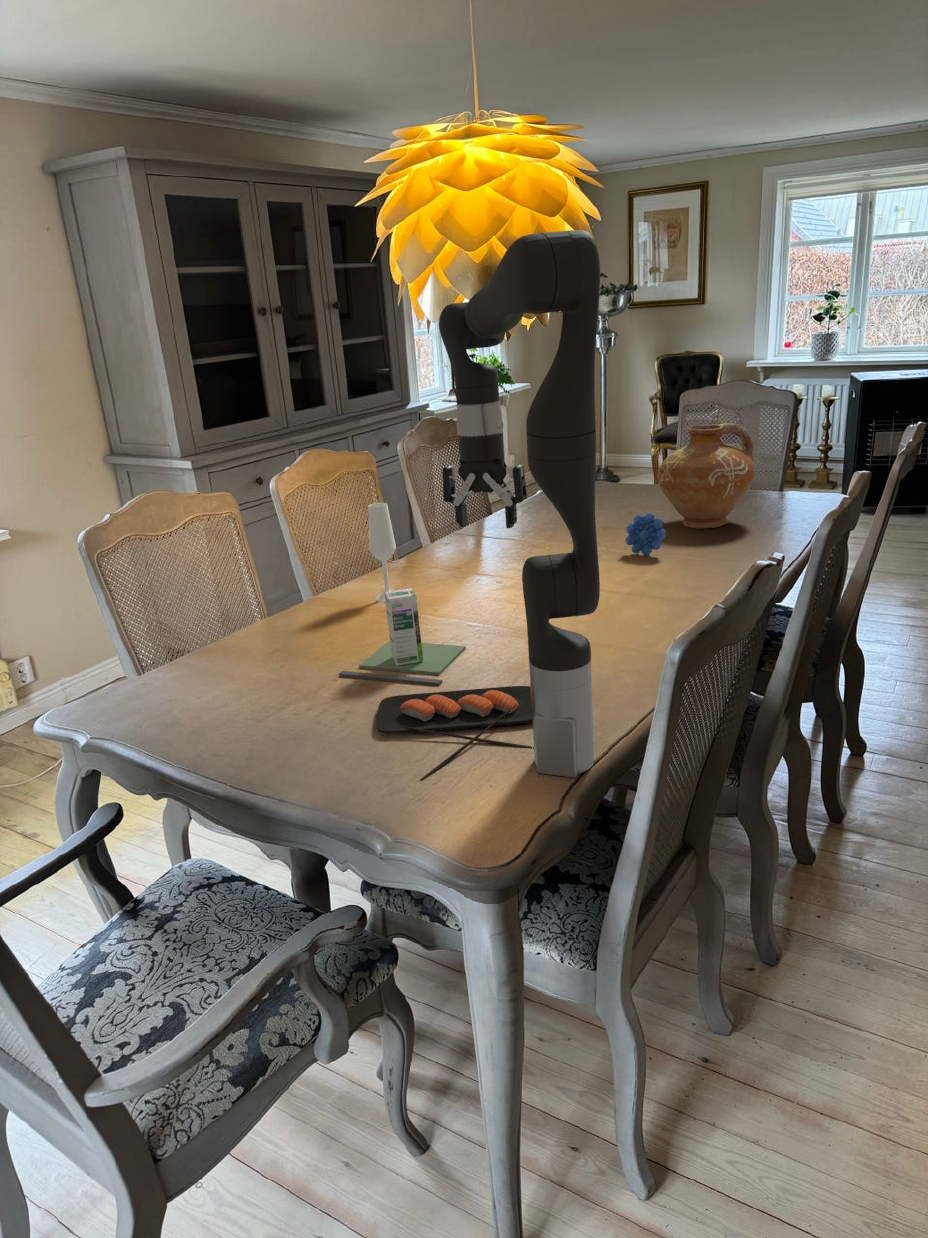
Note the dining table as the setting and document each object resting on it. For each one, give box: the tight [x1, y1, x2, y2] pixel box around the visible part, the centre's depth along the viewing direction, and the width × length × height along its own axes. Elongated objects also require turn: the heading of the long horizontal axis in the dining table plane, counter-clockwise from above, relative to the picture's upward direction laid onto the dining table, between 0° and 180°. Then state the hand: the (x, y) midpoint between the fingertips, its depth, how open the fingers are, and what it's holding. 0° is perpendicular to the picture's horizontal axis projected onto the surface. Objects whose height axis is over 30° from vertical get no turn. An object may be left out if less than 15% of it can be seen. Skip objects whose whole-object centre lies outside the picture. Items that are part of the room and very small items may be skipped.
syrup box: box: [384, 587, 423, 666], centre depth 174 cm, size 6×6×14 cm
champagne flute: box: [367, 502, 397, 603], centre depth 215 cm, size 7×7×24 cm
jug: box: [656, 422, 755, 530], centre depth 258 cm, size 28×28×30 cm
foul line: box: [338, 670, 443, 687], centre depth 169 cm, size 2×22×1 cm, turn 68°
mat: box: [358, 640, 467, 676], centre depth 179 cm, size 14×18×1 cm
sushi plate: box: [375, 685, 534, 782], centre depth 145 cm, size 29×30×4 cm
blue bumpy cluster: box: [625, 512, 667, 556], centre depth 235 cm, size 12×7×12 cm, turn 56°
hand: (486, 526), depth 147 cm, fingers open, 8 cm apart
